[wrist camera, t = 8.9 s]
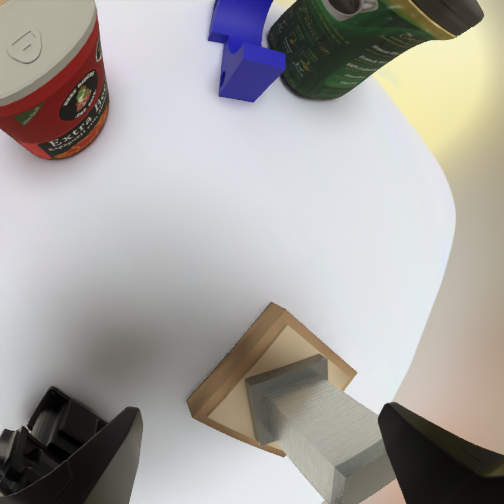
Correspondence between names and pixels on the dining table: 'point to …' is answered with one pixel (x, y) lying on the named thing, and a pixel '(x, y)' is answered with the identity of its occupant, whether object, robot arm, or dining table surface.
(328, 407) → the steel housing
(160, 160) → the dining table surface
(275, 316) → the light tan tray
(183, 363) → the dining table surface
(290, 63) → the coffee jar
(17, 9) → the canned food
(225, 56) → the cable clip
